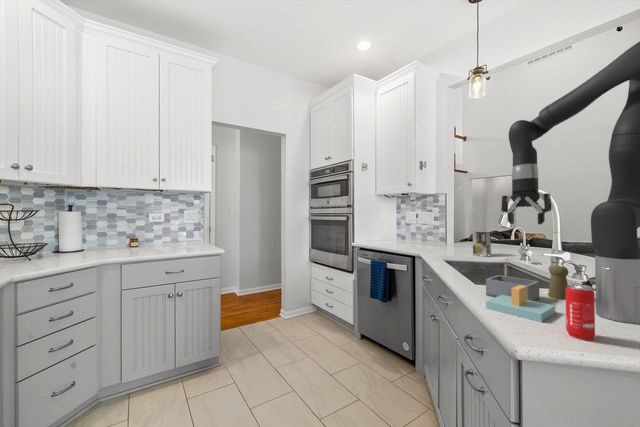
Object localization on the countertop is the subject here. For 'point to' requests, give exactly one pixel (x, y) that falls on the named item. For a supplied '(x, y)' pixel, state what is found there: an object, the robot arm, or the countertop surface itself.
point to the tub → (511, 286)
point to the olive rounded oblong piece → (558, 282)
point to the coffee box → (481, 243)
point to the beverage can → (580, 312)
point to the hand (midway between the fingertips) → (525, 224)
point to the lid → (521, 305)
